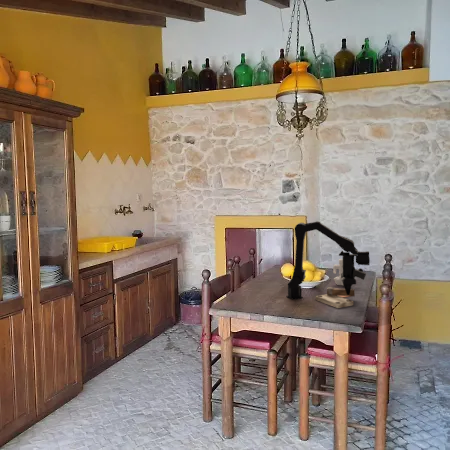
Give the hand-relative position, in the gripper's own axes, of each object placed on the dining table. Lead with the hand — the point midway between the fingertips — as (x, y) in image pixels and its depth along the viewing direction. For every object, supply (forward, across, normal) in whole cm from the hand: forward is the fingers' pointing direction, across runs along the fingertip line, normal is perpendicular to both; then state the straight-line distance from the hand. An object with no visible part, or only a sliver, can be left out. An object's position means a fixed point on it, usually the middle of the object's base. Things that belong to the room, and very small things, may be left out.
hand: (348, 294), depth 222 cm
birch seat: (+3, -3, +7) cm, 9 cm away
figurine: (+2, +36, +2) cm, 36 cm away
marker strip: (+3, +8, +2) cm, 9 cm away
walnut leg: (+1, +3, +4) cm, 5 cm away
